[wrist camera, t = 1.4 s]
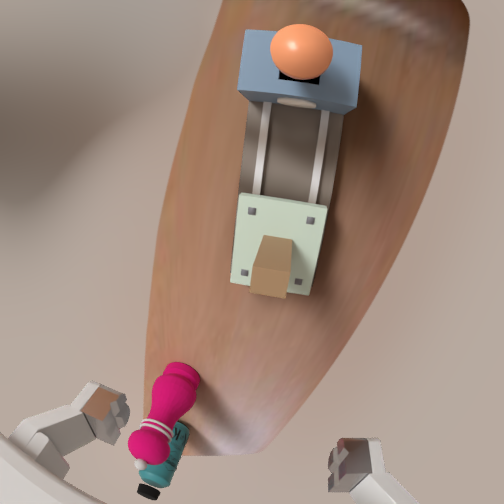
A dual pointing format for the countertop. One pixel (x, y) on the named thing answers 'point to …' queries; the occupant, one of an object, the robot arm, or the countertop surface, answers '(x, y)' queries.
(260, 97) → the blue side pieces
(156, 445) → the pepper mill
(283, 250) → the carriage
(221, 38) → the countertop surface
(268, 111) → the track
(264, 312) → the countertop surface
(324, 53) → the orange rounded knob
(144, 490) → the beverage bottle
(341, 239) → the countertop surface
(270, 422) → the countertop surface
